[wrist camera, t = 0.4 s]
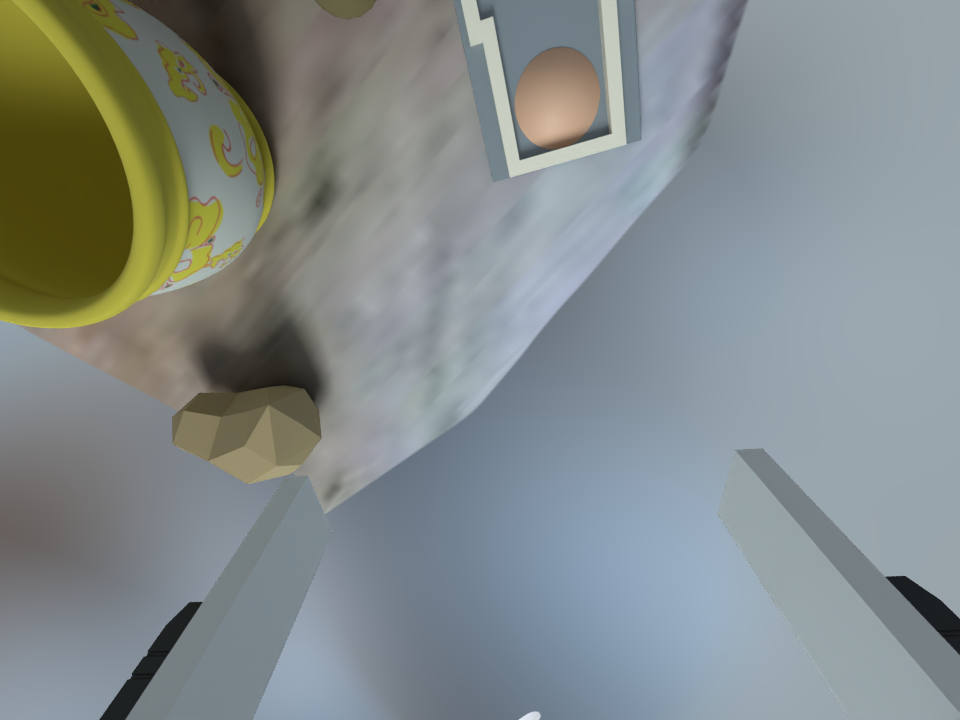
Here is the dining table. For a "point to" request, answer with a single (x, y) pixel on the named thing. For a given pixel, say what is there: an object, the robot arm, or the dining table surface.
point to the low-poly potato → (250, 431)
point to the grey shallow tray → (551, 79)
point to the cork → (346, 7)
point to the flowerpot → (116, 162)
